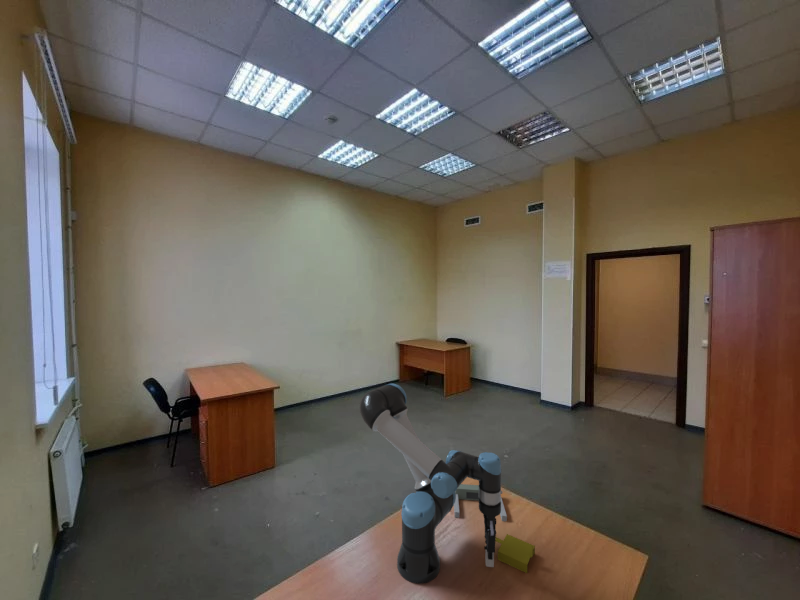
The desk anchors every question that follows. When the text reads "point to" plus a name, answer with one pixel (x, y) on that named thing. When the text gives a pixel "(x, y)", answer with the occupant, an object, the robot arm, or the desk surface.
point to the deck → (472, 498)
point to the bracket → (515, 552)
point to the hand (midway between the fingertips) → (489, 565)
